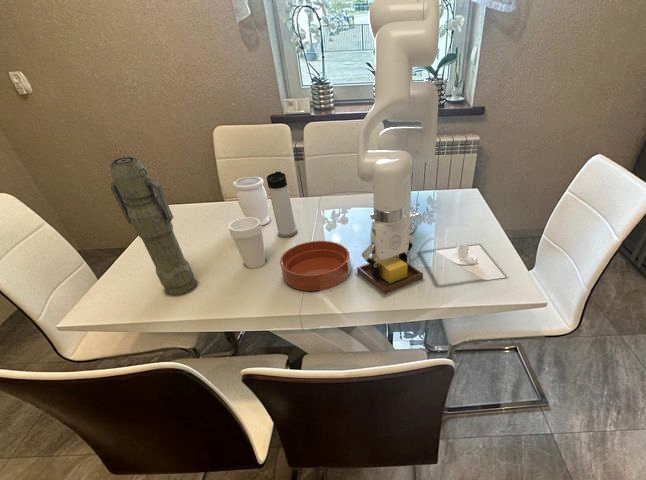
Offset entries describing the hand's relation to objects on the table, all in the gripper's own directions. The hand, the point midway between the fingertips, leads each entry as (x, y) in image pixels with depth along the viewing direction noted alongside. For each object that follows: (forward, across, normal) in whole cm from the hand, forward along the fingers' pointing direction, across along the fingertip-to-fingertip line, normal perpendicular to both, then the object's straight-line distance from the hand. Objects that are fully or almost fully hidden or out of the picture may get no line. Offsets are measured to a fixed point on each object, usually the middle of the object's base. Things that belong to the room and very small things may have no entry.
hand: (389, 271), depth 109 cm
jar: (+2, -17, +62) cm, 64 cm away
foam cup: (+2, -29, +33) cm, 44 cm away
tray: (+2, 0, 0) cm, 2 cm away
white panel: (+2, +21, -7) cm, 22 cm away
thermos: (+2, -52, +33) cm, 62 cm away
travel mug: (+2, -12, +46) cm, 48 cm away
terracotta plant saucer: (+2, -16, +15) cm, 22 cm away
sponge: (+1, 0, 0) cm, 1 cm away
